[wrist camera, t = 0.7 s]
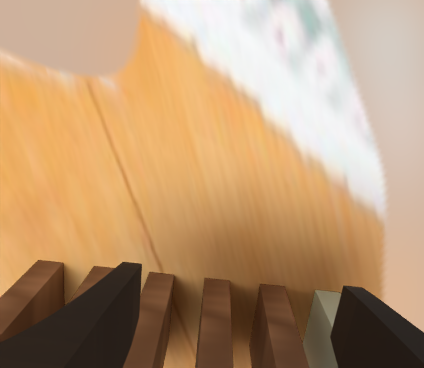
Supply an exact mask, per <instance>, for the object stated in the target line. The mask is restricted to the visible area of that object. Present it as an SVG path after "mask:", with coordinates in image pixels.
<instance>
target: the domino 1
mask: <svg viewBox="0 0 424 368" xmlns="http://www.w3.org/2000/svg"><path fill="white" fill-rule="evenodd" d="M64 306H65V305H64V276H63V263H60V262H51V261H42V260H38V261H37V262H36V263H35V264H34V265H33V266H32V267H31V268H30V269H29V270H28V271H27V272H26V273H25V274H24V275H23V276H22V277H21V278H20V279H19V280H18V281H17V282H16V283H15V284H14V285H13V286H12V287H11V288H10V289H9V290H8V291H7V292H5V293H4V294H3V295H2V296H1V297H0V342H2V341H4V340H6V339H8V338H10V337H13V336H15V335H16V334H18V333H20V332H22V331H24V330H26V329H28V328H29V327H31V326H33V325H35V324H36V323H38V322H40V321H42V320H43V319H45V318H47V317H48V316H50V315H52V314H53V313H55V312H56V311H58V310H59V309H61V308H62V307H64Z"/></svg>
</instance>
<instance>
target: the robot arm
mask: <svg viewBox="0 0 424 368" xmlns="http://www.w3.org/2000/svg"><path fill="white" fill-rule="evenodd" d="M141 271H142V264H138V263H129V262H122V263H121V264H120V265H119V266H117V267H116V268H115V269H113V270H112V271H111V272H110V273H108V274H107V275H106V276H105V277H103V278H102V279H101V280H99V281H98V282H97V283H96V284H94V285H93V286H92V287H90V288H89V289H88V290H86V291H85V292H84V293H82V294H81V295H80V296H78V297H77V298H75V299H74V300H73V301H71V302H70V303H68V304H67V305H65V306H64V307H62V308H61V309H59V310H58V311H56V312H55V313H53V314H52V315H50V316H48V317H47V318H45V319H43V320H42V321H40V322H38V323H36V324H35V325H33V326H31V327H29V328H28V329H26V330H24V331H22V332H20V333H18V334H16V335H15V336H13V337H10V338H8V339H6V340H4V341H2V342H0V368H123V366H124V363H125V361H126V358H127V356H128V353H129V351H130V348H131V345H132V342H133V338H134V335H135V331H136V327H137V323H138V320H139V313H140V292H141ZM330 339H331V343H332V347H333V351H334V354H335V358H336V361H337V365H338V368H424V333H423V332H422V331H421V330H419V329H418V328H417V327H415V326H414V325H413V324H411V323H410V322H409V321H407V320H406V319H405V318H403V317H402V316H401V315H399V314H398V313H397V312H396V311H394V310H393V309H392V308H390V307H389V306H388V305H386V304H385V303H384V302H382V301H381V300H380V299H378V298H377V297H375V296H374V295H373V294H371V293H370V292H368V291H367V290H365V289H364V288H361V287H352V286H343V289H342V293H341V297H340V301H339V305H338V308H337V312H336V316H335V320H334V324H333V327H332V331H331V335H330Z"/></svg>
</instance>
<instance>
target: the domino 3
mask: <svg viewBox="0 0 424 368" xmlns="http://www.w3.org/2000/svg"><path fill="white" fill-rule="evenodd" d="M195 368H233V351H232V328H231V305H230V282H229V280H219V279H210V278H205V281H204V290H203V298H202V307H201V316H200V325H199V333H198V343H197V354H196V365H195Z"/></svg>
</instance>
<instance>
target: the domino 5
mask: <svg viewBox="0 0 424 368" xmlns="http://www.w3.org/2000/svg"><path fill="white" fill-rule="evenodd" d="M340 297H341V294H340V292H331V291H322V290H315V293H314V297H313V302H312V306H311V310H310V314H309V319H308V323H307V327H306V332H305V336H304V340H303V348H304V351H305V354H306V357H307V361H308V364H309V367H310V368H338V365H337V361H336V358H335V354H334V351H333V347H332V343H331V339H330V335H331V331H332V327H333V324H334V320H335V316H336V312H337V308H338V305H339V301H340Z"/></svg>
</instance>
